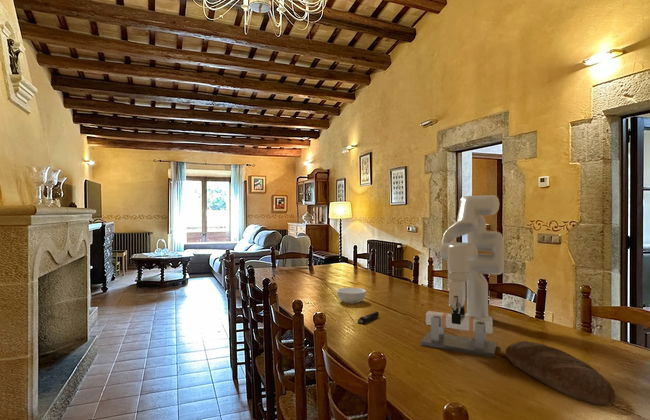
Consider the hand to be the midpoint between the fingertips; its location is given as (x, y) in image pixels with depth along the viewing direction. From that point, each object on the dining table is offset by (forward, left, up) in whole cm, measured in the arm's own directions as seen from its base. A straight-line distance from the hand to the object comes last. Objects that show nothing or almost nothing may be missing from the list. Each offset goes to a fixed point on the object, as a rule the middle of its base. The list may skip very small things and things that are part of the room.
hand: (458, 320), depth 141 cm
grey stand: (0, 0, -10) cm, 10 cm away
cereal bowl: (-43, -66, -10) cm, 79 cm away
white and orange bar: (0, 0, -3) cm, 3 cm away
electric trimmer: (-15, -44, -10) cm, 47 cm away
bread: (+14, +31, -10) cm, 35 cm away
